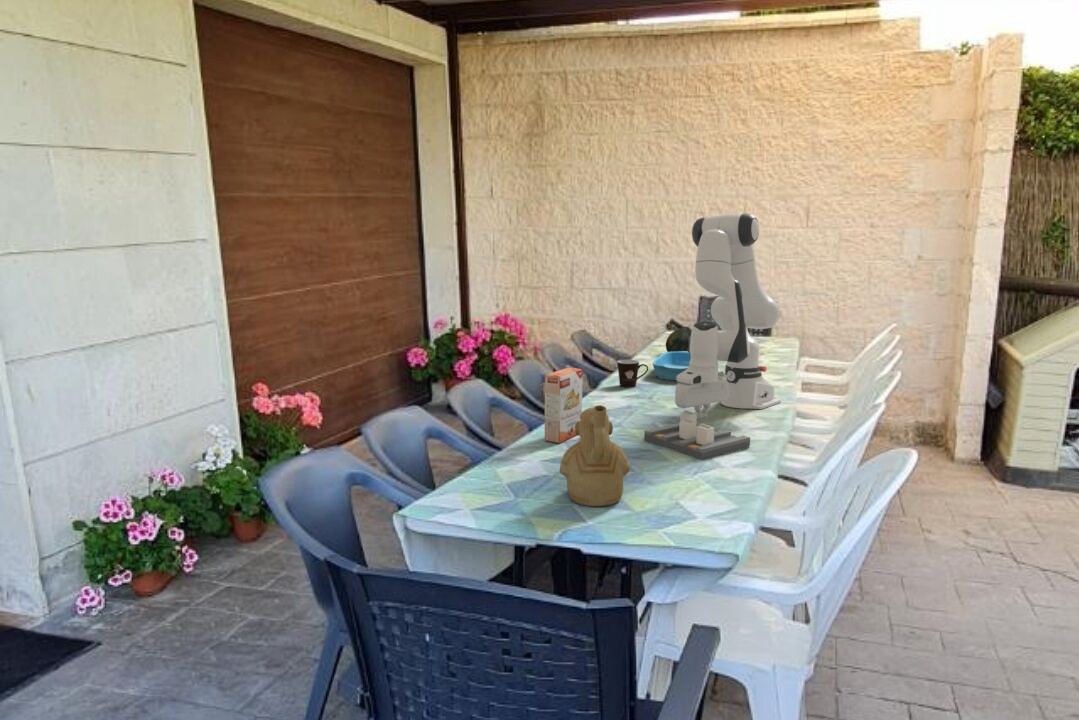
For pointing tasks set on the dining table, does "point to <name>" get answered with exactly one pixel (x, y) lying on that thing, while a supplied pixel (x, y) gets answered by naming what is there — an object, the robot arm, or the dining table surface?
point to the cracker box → (562, 404)
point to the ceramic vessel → (594, 461)
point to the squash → (678, 340)
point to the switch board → (671, 440)
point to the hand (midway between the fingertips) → (701, 417)
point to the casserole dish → (671, 364)
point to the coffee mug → (629, 372)
